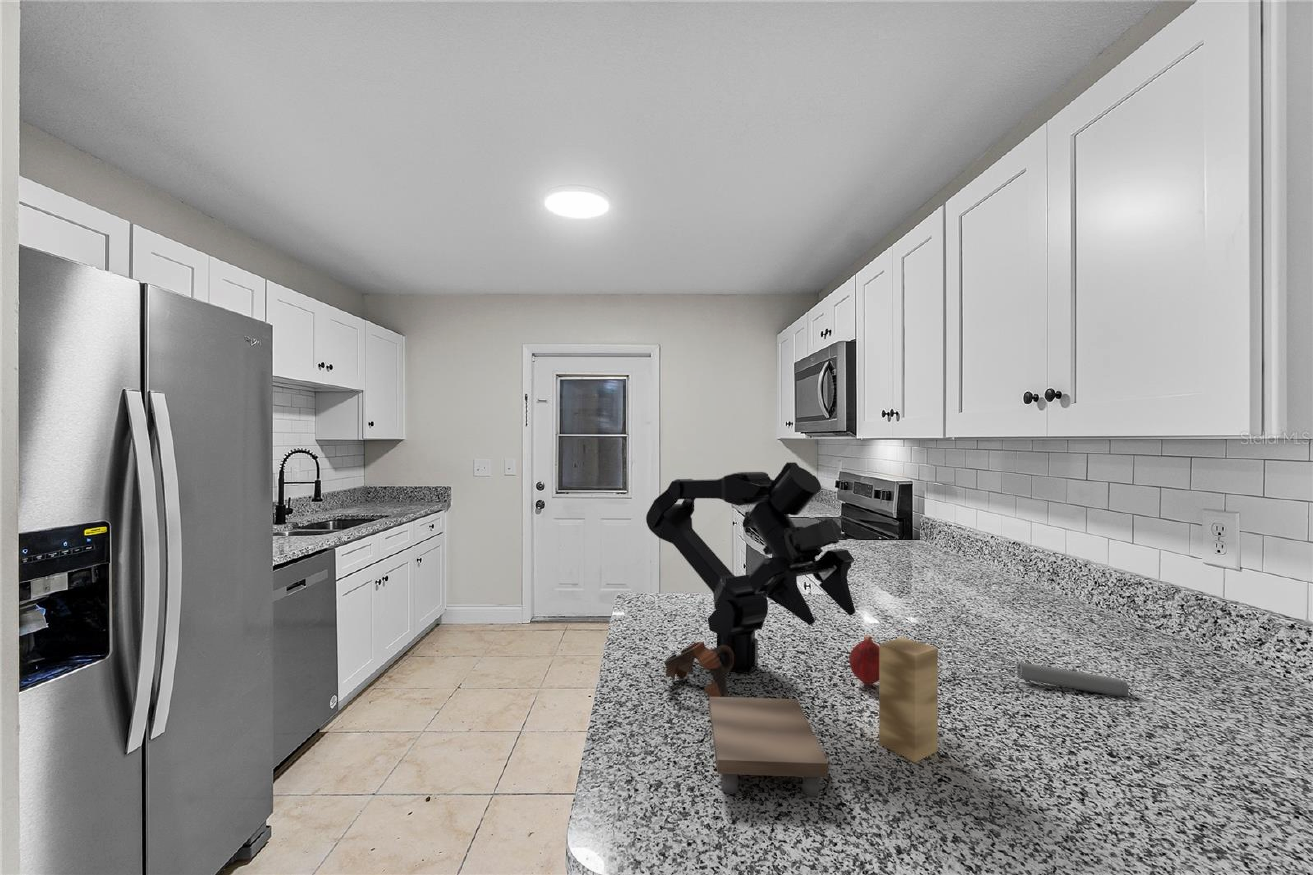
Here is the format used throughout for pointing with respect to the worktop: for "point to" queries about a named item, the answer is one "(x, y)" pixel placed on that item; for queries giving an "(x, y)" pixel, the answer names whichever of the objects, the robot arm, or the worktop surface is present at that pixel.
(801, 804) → the worktop surface
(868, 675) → the onion
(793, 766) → the footed wooden board
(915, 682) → the wooden block
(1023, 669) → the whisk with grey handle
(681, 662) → the brown jagged curved piece
